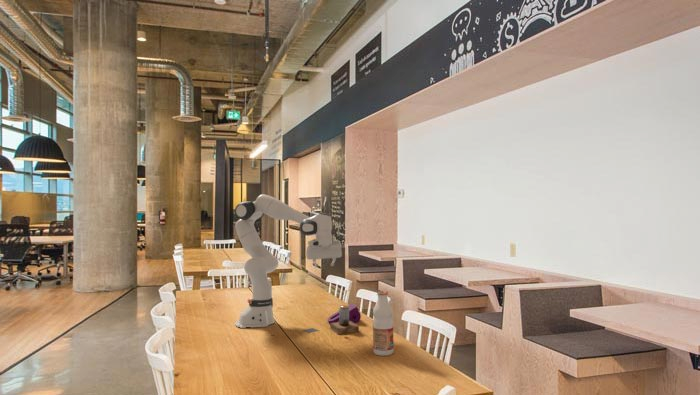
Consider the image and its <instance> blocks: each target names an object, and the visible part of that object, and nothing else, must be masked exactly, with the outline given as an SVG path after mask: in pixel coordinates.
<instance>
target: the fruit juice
mask: <svg viewBox="0 0 700 395" xmlns="http://www.w3.org/2000/svg"><path fill="white" fill-rule="evenodd" d="M376 295H377V301H376V303H375V305H374V307H373V308H372V314H373V320H372V351H373V354H375V355H377V356H381V357H383V356H391V355H392V354H394V320H393V318H392V317H393V314H394V313H393V312H394V309H393V307H392V306H391V305H390V303H389V300H388V295H389V292H388V291H386V290H380V291H379V290H378V291H377V294H376Z"/></svg>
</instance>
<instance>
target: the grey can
mask: <svg viewBox="0 0 700 395" xmlns="http://www.w3.org/2000/svg"><path fill="white" fill-rule="evenodd" d="M338 311H339V325H340V326H348V325H349V307H348V305H346V304H344V305H343V304H342V305H340V306H339V308H338Z"/></svg>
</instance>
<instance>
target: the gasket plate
mask: <svg viewBox="0 0 700 395" xmlns="http://www.w3.org/2000/svg"><path fill="white" fill-rule="evenodd" d="M301 331H302V332H305V333H306V334H307V333H308V334H311V333H316V332H319V331H320V330H318V329H316V328H314V327H310V328H307V329H302V330H301Z"/></svg>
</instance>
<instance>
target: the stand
mask: <svg viewBox="0 0 700 395" xmlns="http://www.w3.org/2000/svg"><path fill="white" fill-rule="evenodd" d="M329 325H330V326H329V328H330V330H332V331H333V332H334V333H336V335H345V334H351V333H352V334H353V333H359V332H360V331H359V330H360V329H359V328H360V326H359V325H357V323H353V322H351V321H349V325H348V326H340V325H339V322H336V323H330V324H329Z"/></svg>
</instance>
